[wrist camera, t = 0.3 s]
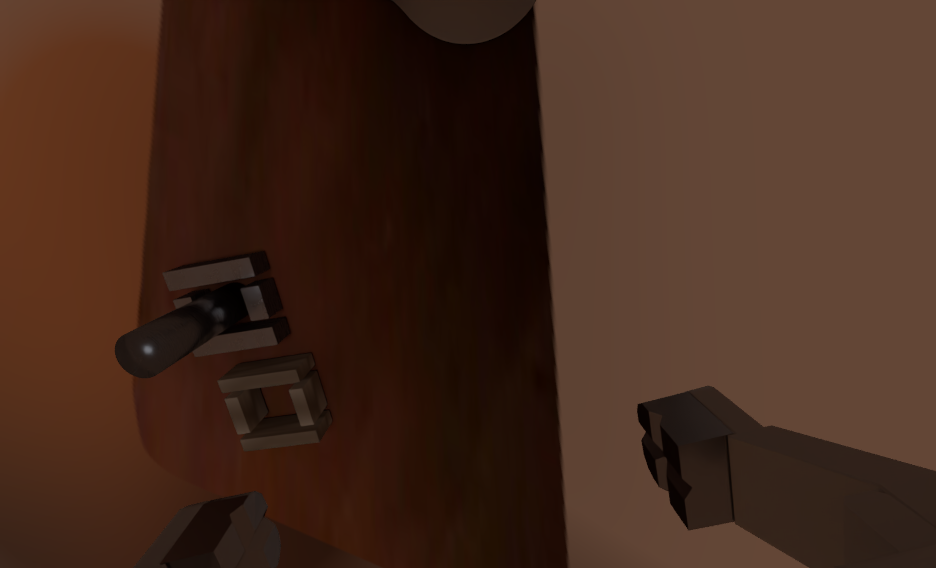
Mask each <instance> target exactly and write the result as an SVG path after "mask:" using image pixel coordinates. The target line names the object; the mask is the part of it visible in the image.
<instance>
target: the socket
mask: <svg viewBox="0 0 936 568" xmlns="http://www.w3.org/2000/svg"><path fill="white" fill-rule="evenodd" d="M269 269H270V268H269V265H268V262H267V258H266V255H265V252H264V251H261V252H255V253H250V254H244V255H239V256H233V257H227V258H222V259H216V260H211V261H205V262H200V263H194V264H188V265H183V266H180V267H177V268H174V269H171V270H169V271H166V272H163V276H164V278H165V281H166V283H167V286H168V289H169V291H173V290H179V289H185V288H191V287H196V286H202V285H208V284H214V283H220V282H225V281H231V280H237V279H243V278H249V277H254V276H257V275H259V274H261V273H263V272H265V271H267V270H269ZM240 290H241V293H242V295H243V298H244V301H245V304H246V307H247V310H248V313H249V316H250V319H251V321H255V320H262V319H268V318H270V317H272V316H273V315H274V314H276V313H277V312H278V311H280V310H281V309H283V308H282V305H281V302H280V299H279V296H278V293H277V290H276V287H275V283H274V280H273V278H268V279H262V280H256V281H254V282H252V283H250V284H248V285H246V286H244V287H243V288H241V289H240ZM208 293H210V291H209V289H203V290H198V291H192V292H190V293H188V294H185V295H183V296H181V297H179V298H177V299H174V300H173V301H174V304H175V307H176V309H178V308H180V307H182V306H184V305H186V304H188V303H190V302H192V301H194V300H196V299H198V298H200V297H202V296H204V295H206V294H208ZM289 334H290V330H289V327H288V324H287V321H286V318H285V317H281V318H275V319H269V320H263V321H256V322H250V323H244V324H237V325H232V326H230V327H229V328H227V329H226V330H224V331H223V332H221V333H220V334H218V335H217V336H215V337H214V338H212V339H211V340H209V341H208V342H206V343H204V344H203V345H201V346H200V347H198V348H197V349H195V350H194V351H193V353H194V355H195V357H199V356H205V355H212V354H218V353H225V352H232V351H238V350H245V349H251V348H258V347H264V346H271V345H277V344H279V343H280V342H281V341H282V340H283V339H285V338H286V337H287V336H288V335H289Z"/></svg>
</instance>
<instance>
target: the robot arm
mask: <svg viewBox="0 0 936 568" xmlns="http://www.w3.org/2000/svg"><path fill="white" fill-rule="evenodd" d="M392 1H393V2H395V3H396V4H397V5H398V6H399V7H400V8H401V9H402V10H403V11H404V12H405V14H406V15H407V16H408V17H409V18H410V19H411V20H412V21H413V22H414V23H415V24H416V25H417V26H418V27H420V28H421V29H422V30H424V31H425V32H427V33H428V34H430V35H432V36H434V37H436V38H438V39H441V40H444V41H447V42H451V43H457V44H474V43H480V42H484V41H488V40H491V39H493V38H496V37H498V36H500V35H502V34H504V33H505V32H507V31H508V30H510V29H511V28H512V27H514V26H515V25H516V24H517V23H518V22H519V21H520V20H521V19H522V18H523V17H524V16H525V15H526V14H527V13H528V12H529V10H530V9H531V7H532V6H533V5H534V3H535V1H536V0H392ZM637 413H638V420H639V423H640V424H641V426H642V427H643V428H644V430H645V431H646V433H645V435H644V437H643V438H642V446H643V452H644V456H645V459H646V462H647V465H648V468H649V470H650V472H651V474H652V476H653V478H654V480H655V481H656V483H657V484H658V486H659V487H660V488H662V489H664V490H666V491H669V498H670V504H671V505H672V507H673V508H674V510H675V511H676V513H677V514H678V516H679V517H680V519H681V520H682V521H683V523H684V524H685V526H686V527H687V529H688V530H693V529H698V528H703V527H709V526H714V525H719V524H724V523H729V522H735V524H736V525H738V526H740V527H742V528H743V529H745V530H747V531H748V532H750V533H752V534H753V535H755V536H757V537H758V538H760V539H762V540H763V541H765V542H767V543H769V544H770V545H772V546H774V547H775V548H777V549H779V550H780V551H782V552H784V553H786V554H787V555H789V556H791V557H793V558H794V559H796V560H797V561H799V562H801V563H802V564H804V565H806V566H807V567H809V568H936V471H933V470H929V469H926V468H922V467H918V466H915V465H912V464H908V463H904V462H901V461H897V460H893V459H890V458H886V457H883V456H879V455H875V454H872V453H868V452H865V451H861V450H858V449H854V448H850V447H846V446H843V445H840V444H836V443H832V442H829V441H825V440H822V439H818V438H815V437H811V436H807V435H804V434H800V433H796V432H793V431H789V430H786V429H782V428H779V427H775V426H767V427H763V426H762V425H760V424H759V423H758V422H757V421H755V420H754V419H753V418H752V417H750V416H749V415H748V414H746V413H745V412H744V411H743V410H742V409H740V408H739V407H738V406H737V405H735V404H734V403H733V402H732V401H730V400H729V399H728V398H727V397H725V396H724V395H723V394H721V393H720V392H719V391H718V390H716V389H715V388H714V387H711V386H705V387H702V388H698V389H694V390H690V391H687V392H684V393H680V394H676V395H672V396H668V397H665V398H660V399H657V400H652V401H648V402H645V403H641V404H638V408H637ZM267 508H268V506H267V504H266V502H265V500H264V498H263V496H262V494H261V493H258V492H256V491H254V492H249V493H244V494H239V495H234V496H229V497H225V498H220V499H215V500H211V501H206V502H201V503H197V504H193V505H189V506H186V507H184V508H182V509H180V510H179V511H178V513H177V514H176V515H175V517H174V518H173V519H172V520H171V521H170V523H169V524H168V525H167V526H166V528H165V529H164V530H163V531H162V533H161V534H160V535H159V536H158V538H157V539H156V540H155V541H154V543H153V544H152V545H151V547H150V548H149V549H148V550H147V551H146V553H145V554H144V555H143V556H142V558H141V559H140V560H139V561H138V563H137V564H136V565H135V566H134V568H276V567H277V565H278V562H279V555H280V547H281V544H280V538H279V533H278V530H277V528H276V525H275V524H274V523H272V522H271V521H270V520H268V519H267V518H265V517H264V516H265V513H266V511H267Z"/></svg>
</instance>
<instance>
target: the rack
mask: <svg viewBox="0 0 936 568" xmlns="http://www.w3.org/2000/svg"><path fill="white" fill-rule="evenodd" d="M314 365H315V363H314V360H313V356H312V353H307V354H300V355H294V356H287V357H280V358H273V359H267V360H260V361H253V362H247V363H240V364H237V365H236V366H235V367H234V368H233V369H231V370H230V371H229V372H228V373H226V374H225V375H224V376H223V377H222V378H220V379H219V380H218V384H219V386H220V389H221V391H222V393H227V392H232V393H231V394H230V395H228V396H227V397H226V398H225V402H226V405H227V407H228V410H229V412H230V415H231V418H232V420H233V423H234V426H235V428H236V431H237V433H238V434H245V433H246V434H245V435H244V436H243V437H242V439H241V440H240V441H241V444H242V447H243V449H244V451H252V450H260V449H268V448H276V447H284V446H292V445H300V444H308V443H316V442H320V440H321V439H322V437H323V436H324V434H325V432H326V431H327V429H328V427H329V426H330V424H331V423H332V418H331V415H330V411H329V410H326V411H323V410H324V409H325V407H326V406H327V402H326V398H325V395H324V392H323V389H322V386H321V382H320V379H319V376H318V373H317V371H310V370H311V369H312V368H313V366H314ZM309 371H310V372H309ZM290 383H295V384H294V385H293V386H292V387H291V388H290V390H289V392H290V395H291V398H292V401H293V404H294V407H295V410H296V413H297V414H296V415H288V416H281V417H273V418H265V419H263V418H264V417H265V416H266V414H267V413H268V410H267V408H266V405H265V402H264V399H263V396H262V393H261V391H260V388H262V387H269V386H276V385H283V384H290Z"/></svg>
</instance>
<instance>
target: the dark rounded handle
mask: <svg viewBox="0 0 936 568" xmlns="http://www.w3.org/2000/svg"><path fill="white" fill-rule="evenodd" d="M243 287H244V285H242V284H240V283H229V284H227V285H225V286H223V287H220V288H218V289H216V290H214V291H212V292H210V293H208V294H206V295H204V296H202V297H200V298H198V299H196V300H194V301H192V302H190V303H188V304H186V305H184V306H182V307H180V308H178V309H176V310H174V311H172V312H169V313H167V314H165V315H163V316H161V317H159V318H157V319H155V320H153V321H151V322H149V323H147V324H145V325H143V326H141V327H139V328H137V329H135V330H133V331H131V332H129V333H127V334H125V335H123V336H121V337H120V338H119V339H118V340H117V342H116V345H115V355H116V358H117V360H118V362H119V364H120V365H121V366H122V368H123V369H124V370H126V371H127V372H128V373H130V374H131V375H133V376H136V377H139V378H151V377H154V376H155V375H157V374H159V373H160V372H162V371H163V370H165V369H166V368H168V367H169V366H171V365H172V364H174V363H175V362H177V361H178V360H180V359H182V358H183V357H185V356H186V355H188V354H189V353H191V352H192V351H194V350H195V349H197V348H198V347H200V346H201V345H203V344H204V343H206V342H208V341H209V340H211V339H212V338H214V337H215V336H217V335H218V334H220V333H221V332H223V331H224V330H226V329H227V328H229V327H230V326H232V325H233V324H235V323H237V322H238V321H240V320H241V319H243V318H244V317H246V316H247V315H249V313H248V310H247V307H246V304H245V301H244V298H243V295H242V293H241V290H240V289H241V288H243Z"/></svg>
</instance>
